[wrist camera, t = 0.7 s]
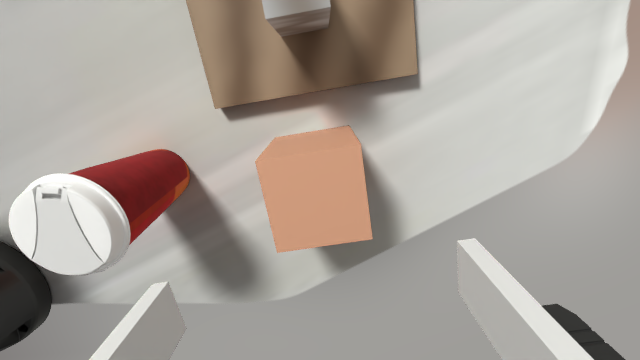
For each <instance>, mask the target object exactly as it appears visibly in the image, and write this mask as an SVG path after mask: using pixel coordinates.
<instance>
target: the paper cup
mask: <svg viewBox="0 0 640 360" xmlns="http://www.w3.org/2000/svg"><path fill="white" fill-rule="evenodd" d="M189 180H190V173H189V169H188V167H187V165H186V163H185V161H184V160H183V159H182V158H181V157H180V156H179V155H177V154H176V153H174V152H172V151H169V150H164V149H157V150H152V151H148V152H144V153H140V154H136V155H133V156H129V157H126V158H122V159H119V160H115V161H112V162H108V163H104V164H100V165H96V166H93V167H89V168H85V169H82V170H79V171H76V172H73V173H69V174H51V175H46V176H44V177H41V178H39V179H37V180H35V181H34V182H32V183H31V184H30V185H29V186H28V187H27V188H26V189H25V191H24V192H23V193H21V194H20V195H19V196H18V197H17V198H16V200H15V201H14V203H13V204H12V206H11V209H10V212H9V227H10V232H11V234H12V237H13V239H14V241H15V242H16V244H17V246H18V247H19V248H20V250H21V251H22V252H23V253H24V254H25V255H26V256H27V257H28V258H29V259H30V260H32V261H33V262H35V263H37V264H38V265H40V266H42V267H44V268H46V269H48V270H50V271H52V272H55V273H59V274H64V275H88V274H91V273H97V272H102V271H104V270H105V269H107V268H109V267H111V266H113V265H114V264H116V263H117V262H118V261H119V260H121V258H122V257H123V256H124V255H125V253H126V251H127V249H128V247H129V245H130V244H131V243H132V242H133V241H134V240H135V239H136V238H137V237H138V236H139V235H140V234H141V233H142V232H143V231H144V230H145V229H146V228H147V227H148V226H149V225H150V224H151V223H152V222H153V221H155V220H156V219H157V218H158V217H159V216H160V215H161V214H162V213H163V212H164V211H165V210H166V209H167V208H168V207H169V206H170V205H171V204H172V203H173V202H174V201H175V200H176V199H177V198H178V197H179V196H180V195H181V194H182V193H183V191H184V190H185V189H186V188H187V186H188V184H189Z"/></svg>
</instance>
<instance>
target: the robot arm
mask: <svg viewBox="0 0 640 360" xmlns="http://www.w3.org/2000/svg"><path fill="white" fill-rule="evenodd" d="M457 254H458V255H457V258H458V293H459V294H460V296H461V298H462V299H463V300H464V302H465V304H466V305H467V307H468V308H469V310H470V311H471V313H472V315H473V316H474V318H475V319H476V321H477V322H478V323H479V325H480V327H481V329H482V330H483V332H484V333H485V335H486V336H487V338H488V339H489V341H490V342H491V344H492V345H493V347H494V349H495V350H496V352H497V353H498V355H499V356H500V358H501V359H502V360H625V359H624V358H623V357H622V356H621V355H620V354H619V353H617V352H616V351H615V350H614V349H613V348H612V347H611V346H610V345H609V344H607V343H605V342H604V340H603V339H602V338H601V337H600V336H599V335H598V334H597V333H596V332H594V331H592V330H591V328H590V327H589V326H588V325H587V324H586V323H585V322H584V321H582V320H581V319H580V318H579V317H578V316H577V315H576V314H574V313H572V312H570V311H569V310H567V309H565V308H563V307H562V306H560V305H558V304H553V305H544V306H541V305H540V304H539V303H538V302H537V301H536V300H535V299H534V298H533V297H532V296H531V295H530V294H529V293H528V292H527V291H526V290H525V289H524V288H523V287H522V286H521V285H520V284H519V283H518V282H517V281H516V280H515V279H514V278H513V277H512V276H511V275H510V274H509V273H508V272H507V271H506V270H505V269H504V267H502V265H501V264H500V263H499V262H497V260H496V259H495V258H494V257H493V256H492V255H491V254H490V253H489V252H488V251H487V250H486V249H485V248H484V247H483V246H482V245H481V244H480V243H479V242H478V241H477V240H476V239H475V238H474V239H467V240H460V241H457ZM50 309H51V294H50V290H49V287H48V285H47V283H46V281H45V279H44V277H43V276H42V274H41V273H40V271H39V270H38V269H37V268H36V267H35V265H34V264H33V263H32V262H31V261H29V260H28V259H27V258H26V257H25V256H24V255H22V254H21V253H19V252H18V251H16V250H15V249H13V248H11V247H9V246H8V245H5V244H3V243H1V242H0V351H2V350H4V349H6V348H8V347H10V346H12V345H14V344H16V343H18V342H19V341H21V340H23V339H24V338H26V337H27V336H28V335H29V334H30V333H32V332H33V331H34V330H35V329H36V328H38V327H39V326H40V325H41V324H42V323H43V322H44V321H45V320H46V318H47V316H48V315H49V312H50ZM185 330H186V326H185V324H184V321H183V318H182V316H181V313H180V311H179V308H178V306H177V303H176V300H175V298H174V295H173V293H172V290H171V288H170V285H169V282H163V283H156V284H152V285H151V286H150V287H149V289H148V290H147V291H146V292H145V293H144V295H143V296H142V297H141V298H140V299H139V301H138V302H137V303H136V304H135V305H134V307H133V308H132V309H131V310H130V311H129V312H128V314H127V315H126V316H125V317H124V318H123V320H122V321H121V322H120V323H119V324H118V325H117V327H116V328H115V329H114V330H113V331H112V333H111V334H110V335H109V336H108V337H107V339H106V340H105V341H104V342H103V343H102V344H101V346H100V347H99V348H98V349H97V351H96V352H95V353H94V354H93V355H92V356H91V358H90V359H89V360H169V359H170V358H171V356H172V354H173V352H174V350H175V349H176V347H177V345H178V343H179V341H180V339H181V338H182V336H183V334H184V332H185Z"/></svg>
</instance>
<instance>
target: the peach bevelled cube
mask: <svg viewBox="0 0 640 360" xmlns="http://www.w3.org/2000/svg"><path fill="white" fill-rule="evenodd" d="M255 163H256V167H257V171H258V175H259V179H260V183H261V188H262V192H263V196H264V200H265V204H266V208H267V212H268V217H269V221H270V225H271V229H272V233H273V237H274V242H275V246H276V250H277V253H279V252H286V251H293V250H300V249H307V248H314V247H321V246H328V245H335V244H342V243H349V242H356V241H364V240H371V239H373V238H372V230H371V222H370V214H369V206H368V198H367V190H366V182H365V174H364V166H363V157H362V149H361V144H360V142H359V140H358V139H357V137H356V136H355V134H354V132H353V131H352V129H351V128H350V126H343V127H337V128H331V129H325V130H318V131H312V132H306V133H300V134H294V135H288V136H282V137H276V138H274V140H273V141H272V142H271V143H270V144H269V145H268V147H267V148H266V149H265V150H264V151H263V152H262V154H261V155H260V156H259V157H258V158H257V160H256V161H255Z"/></svg>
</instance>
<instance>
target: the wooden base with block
mask: <svg viewBox="0 0 640 360" xmlns="http://www.w3.org/2000/svg"><path fill="white" fill-rule="evenodd" d="M186 2H187V6H188V10H189V14H190V17H191V21H192V25H193V28H194V32H195V36H196V40H197V43H198V47H199V51H200V54H201V58H202V62H203V66H204V69H205V73H206V77H207V81H208V84H209V88H210V92H211V95H212V99H213V103H214V107H215V109H218V108H223V107H229V106H235V105H241V104H247V103H252V102H258V101H264V100H270V99H276V98H281V97H287V96H293V95H299V94H304V93H310V92H316V91H322V90H328V89H333V88H339V87H345V86H351V85H357V84H362V83H368V82H374V81H380V80H386V79H391V78H397V77H403V76H409V75H415V74H418V72H417V55H416V38H415V21H414V4H413V0H186Z"/></svg>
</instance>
